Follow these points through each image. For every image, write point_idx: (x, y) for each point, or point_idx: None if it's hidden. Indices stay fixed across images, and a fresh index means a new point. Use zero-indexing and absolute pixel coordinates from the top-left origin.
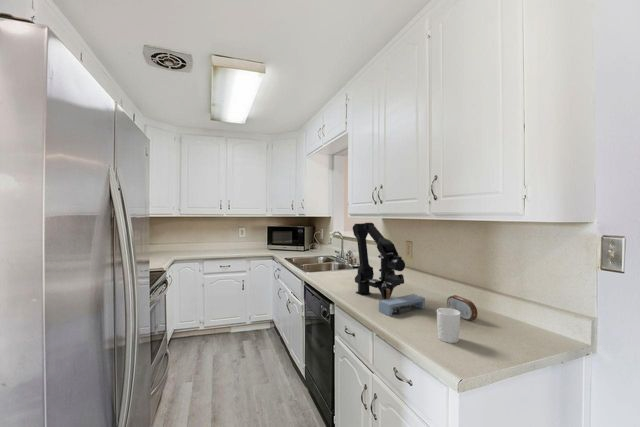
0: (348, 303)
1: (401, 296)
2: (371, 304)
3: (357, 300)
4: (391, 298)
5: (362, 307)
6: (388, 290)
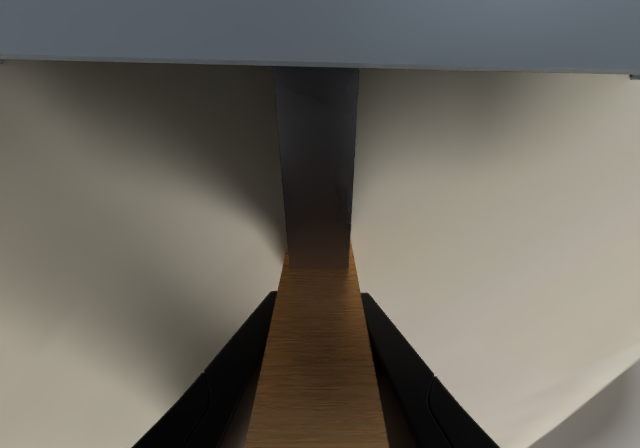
0: (579, 389)
1: (95, 56)
2: (465, 308)
3: (460, 403)
4: (588, 51)
5: (617, 287)
6: (313, 437)
